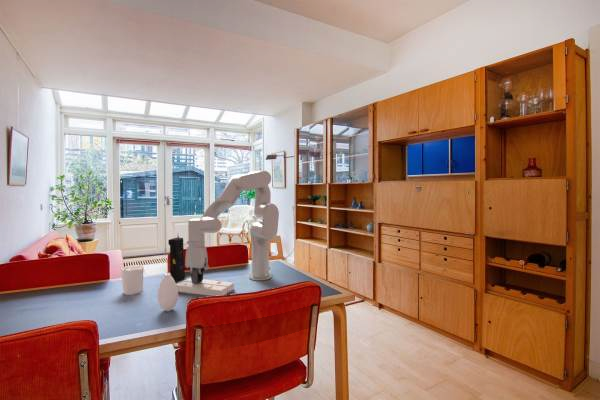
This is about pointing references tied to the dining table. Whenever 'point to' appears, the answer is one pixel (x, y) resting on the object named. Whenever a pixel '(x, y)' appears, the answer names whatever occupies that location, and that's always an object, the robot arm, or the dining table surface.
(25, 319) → the dining table surface
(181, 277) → the portable radio
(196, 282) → the fader tab
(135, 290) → the candle holder
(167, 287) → the sauce bottle
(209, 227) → the robot arm
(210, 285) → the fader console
